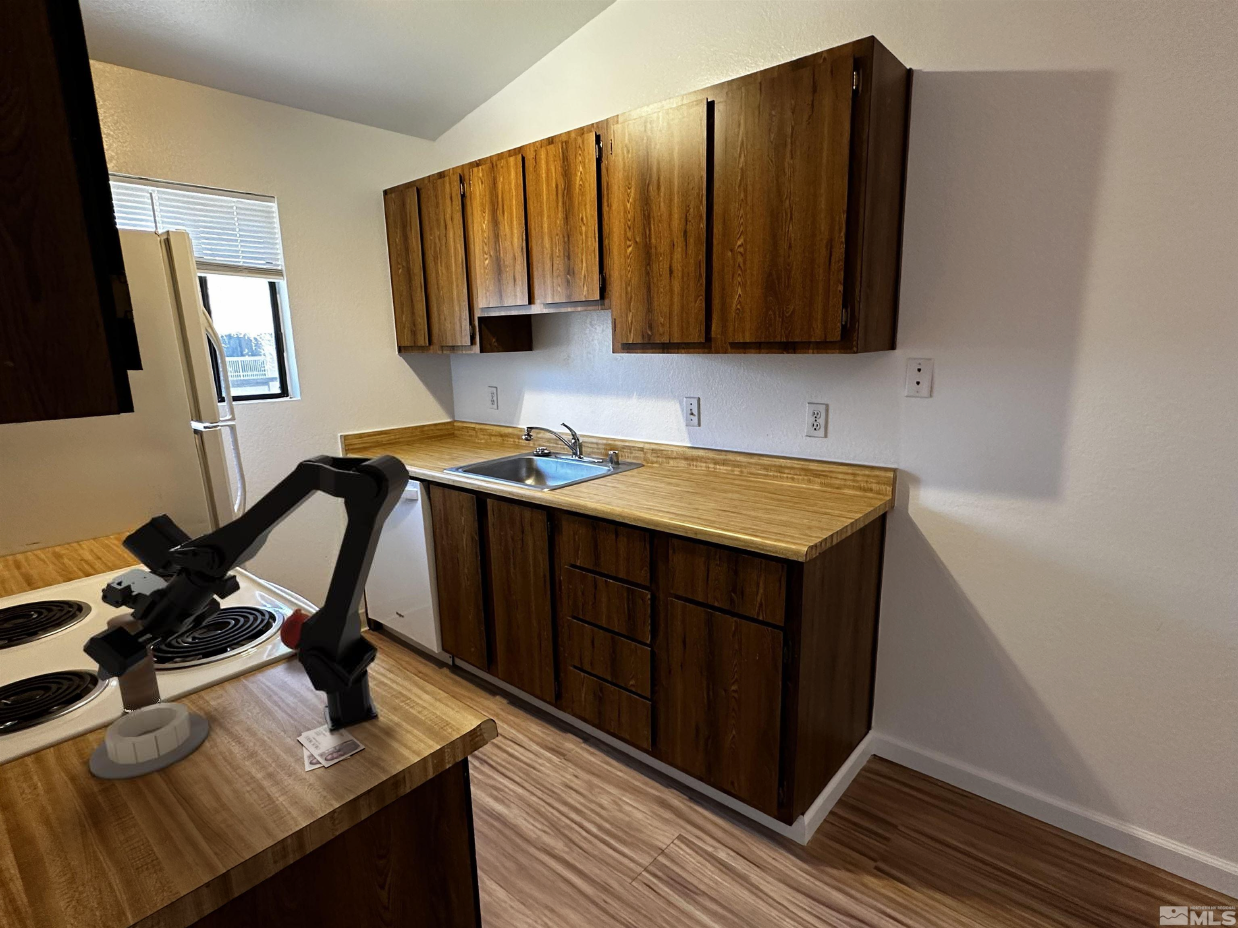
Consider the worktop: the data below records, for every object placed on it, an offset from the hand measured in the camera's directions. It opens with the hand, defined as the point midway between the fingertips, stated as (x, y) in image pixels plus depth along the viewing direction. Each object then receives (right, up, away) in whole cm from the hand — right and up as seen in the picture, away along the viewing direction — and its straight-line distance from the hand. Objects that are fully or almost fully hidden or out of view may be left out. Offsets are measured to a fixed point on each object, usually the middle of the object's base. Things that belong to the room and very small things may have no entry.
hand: (128, 661), depth 93 cm
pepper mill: (+1, -7, +1) cm, 7 cm away
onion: (+17, -4, +17) cm, 24 cm away
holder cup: (+9, -9, -8) cm, 15 cm away
